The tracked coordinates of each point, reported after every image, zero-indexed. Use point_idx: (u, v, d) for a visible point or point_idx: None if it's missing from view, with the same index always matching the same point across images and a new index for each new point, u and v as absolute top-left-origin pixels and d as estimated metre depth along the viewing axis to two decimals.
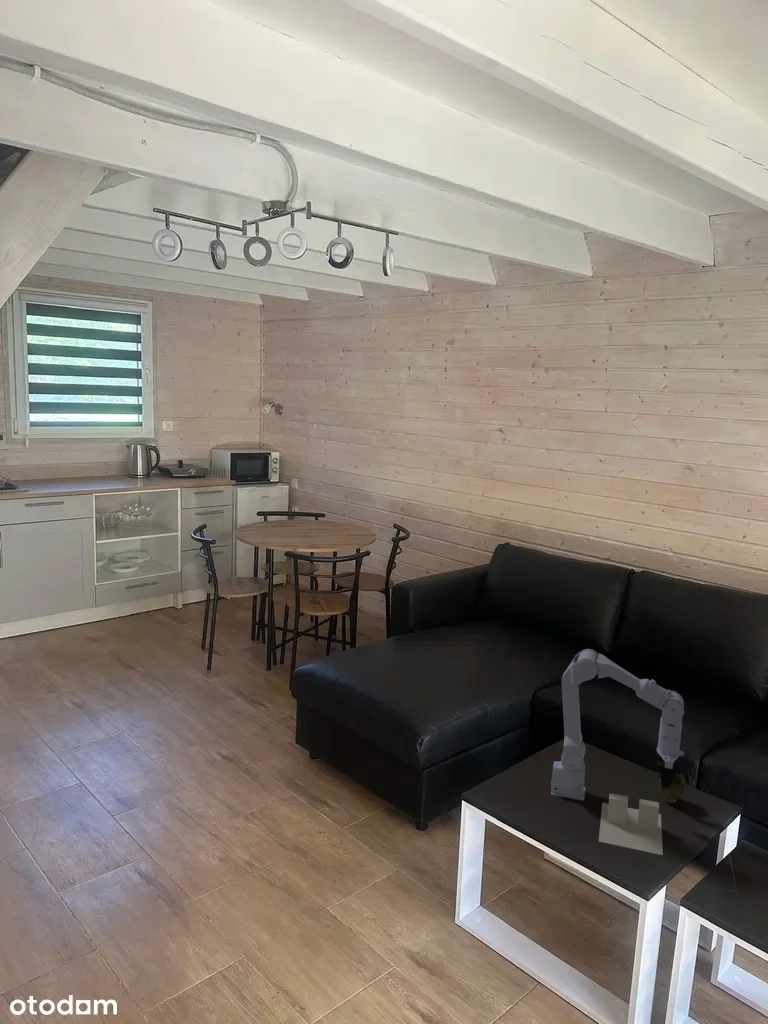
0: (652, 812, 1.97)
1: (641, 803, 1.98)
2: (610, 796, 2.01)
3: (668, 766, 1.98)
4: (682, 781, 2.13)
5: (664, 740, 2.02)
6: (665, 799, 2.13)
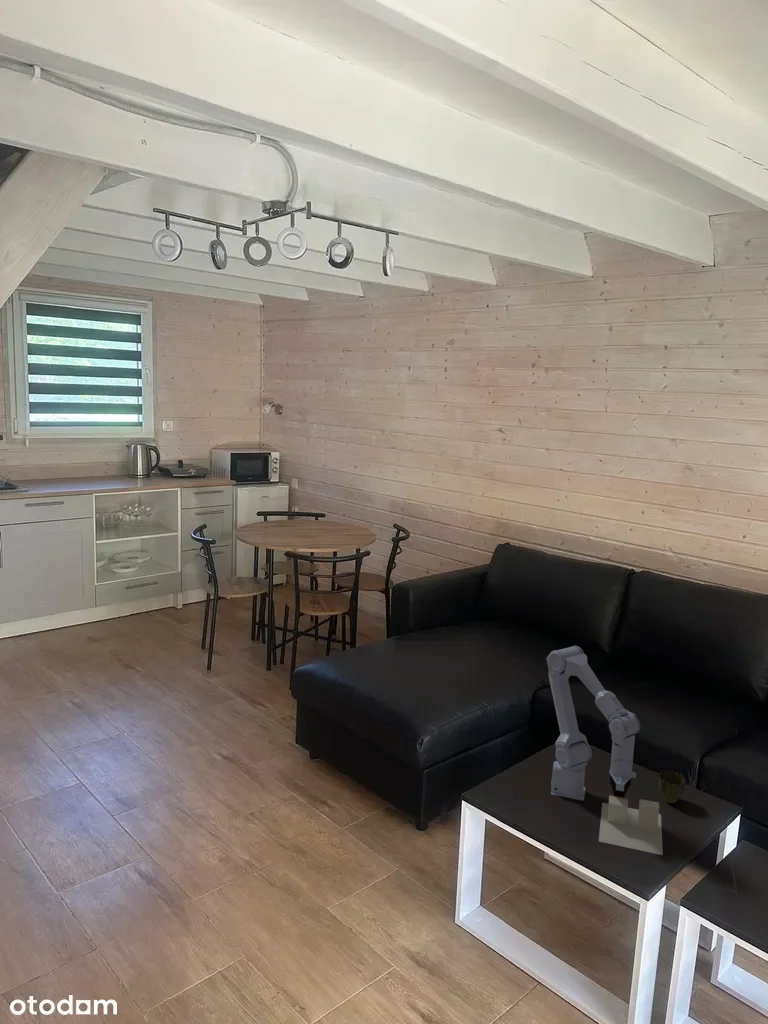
0: (652, 812, 1.97)
1: (641, 803, 1.98)
2: (610, 800, 1.99)
3: (619, 788, 1.94)
4: (682, 781, 2.13)
5: (616, 761, 1.98)
6: (665, 799, 2.13)
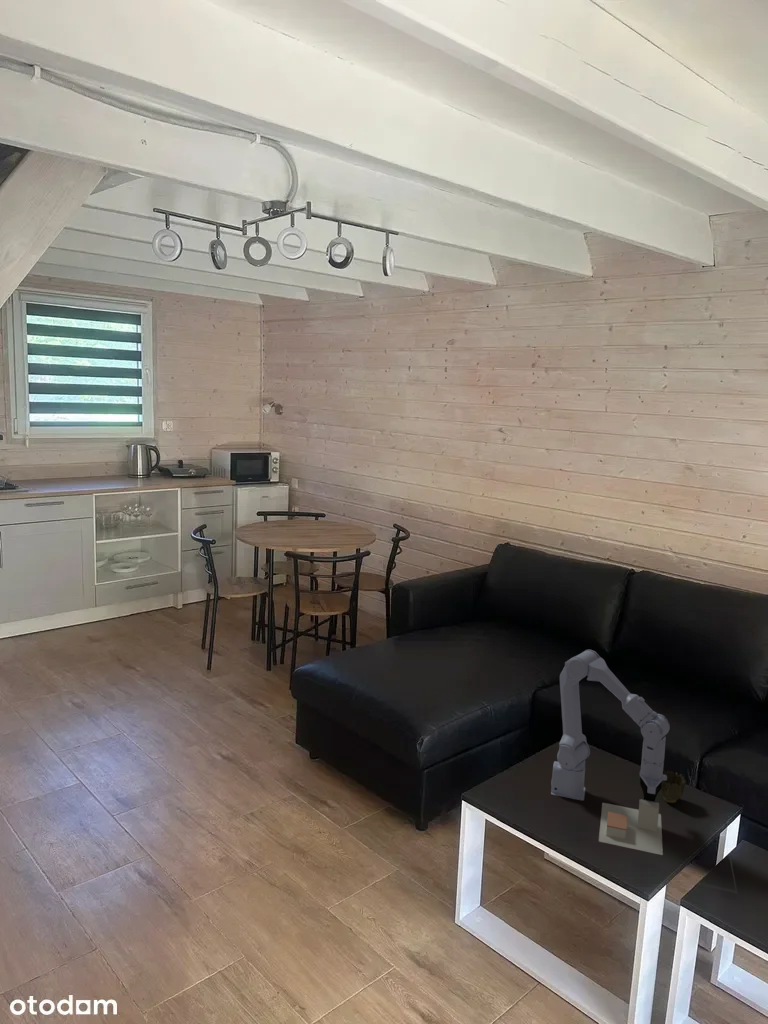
0: (652, 813, 1.97)
1: (641, 804, 1.98)
2: (607, 832, 1.95)
3: (651, 791, 1.93)
4: (682, 781, 2.13)
5: (647, 764, 1.97)
6: (665, 799, 2.13)
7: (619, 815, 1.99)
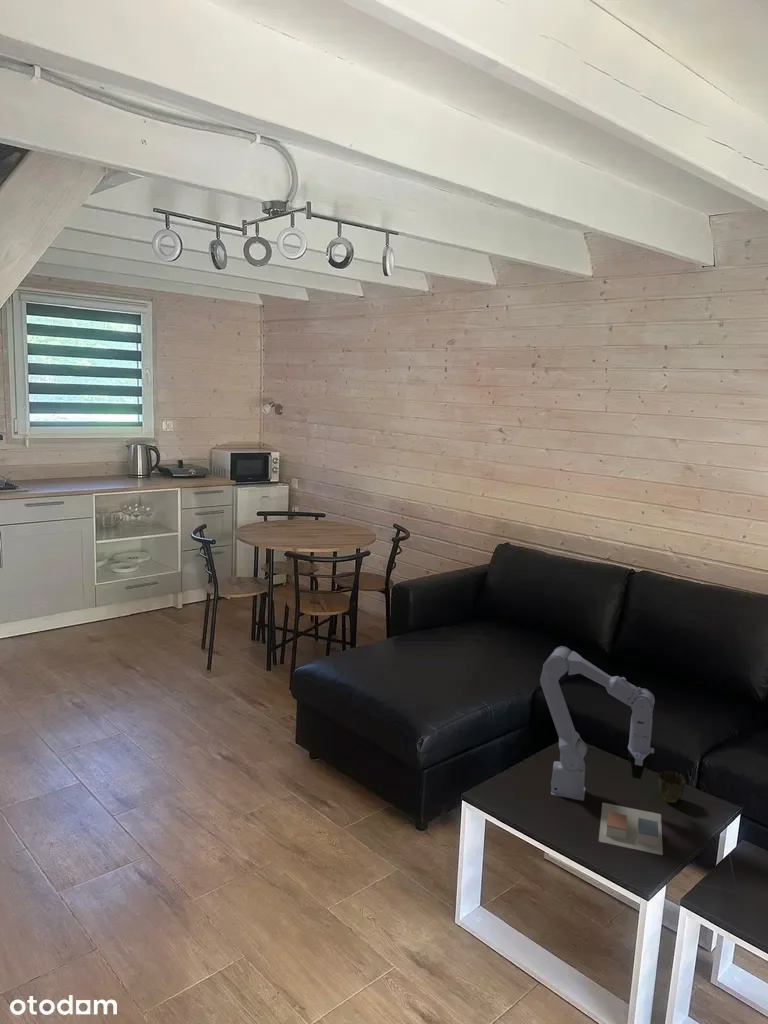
0: None
1: (639, 840, 1.92)
2: (607, 832, 1.95)
3: (638, 763, 2.00)
4: (682, 781, 2.13)
5: (634, 737, 2.04)
6: (665, 799, 2.13)
7: (619, 815, 1.99)
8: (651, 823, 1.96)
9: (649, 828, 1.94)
